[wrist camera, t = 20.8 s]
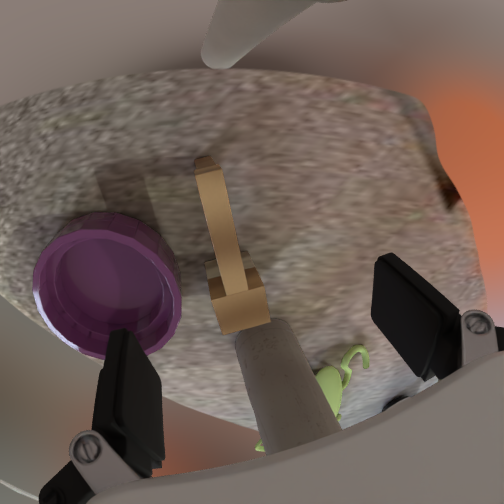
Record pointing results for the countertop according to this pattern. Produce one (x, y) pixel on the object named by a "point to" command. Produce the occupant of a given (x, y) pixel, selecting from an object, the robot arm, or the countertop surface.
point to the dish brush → (228, 258)
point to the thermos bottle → (282, 388)
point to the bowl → (108, 283)
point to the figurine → (335, 382)
